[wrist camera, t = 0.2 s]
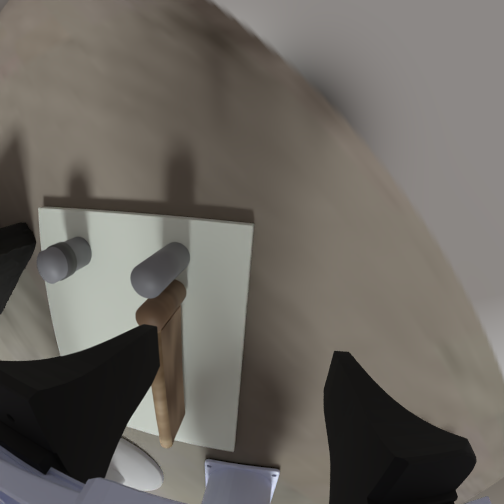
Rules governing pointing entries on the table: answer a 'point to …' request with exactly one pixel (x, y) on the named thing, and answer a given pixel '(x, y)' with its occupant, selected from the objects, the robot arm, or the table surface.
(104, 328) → the flat white tray
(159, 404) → the brown wooden bar
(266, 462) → the table surface
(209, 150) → the table surface
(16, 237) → the film camera
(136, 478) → the candlestick
